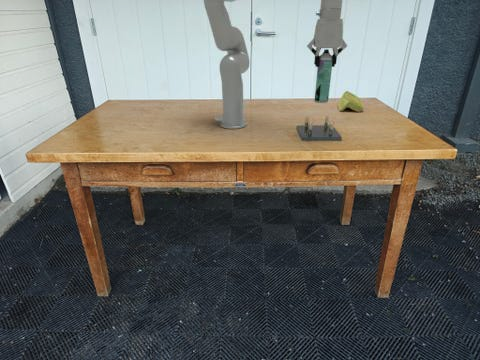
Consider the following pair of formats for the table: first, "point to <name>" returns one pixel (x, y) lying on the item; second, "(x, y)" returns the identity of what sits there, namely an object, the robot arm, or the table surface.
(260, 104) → the table surface
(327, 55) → the spray can
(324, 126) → the post plate
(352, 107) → the plastic component
